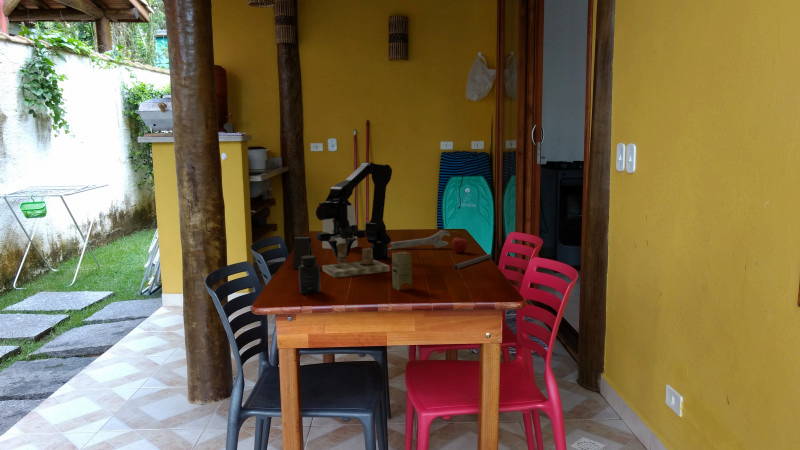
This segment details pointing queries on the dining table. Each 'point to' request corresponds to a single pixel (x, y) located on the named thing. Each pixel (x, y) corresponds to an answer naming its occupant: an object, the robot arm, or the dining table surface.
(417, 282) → the dining table surface
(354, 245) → the milk
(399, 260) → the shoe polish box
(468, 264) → the metal rod
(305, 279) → the supplement bottle
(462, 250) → the apple
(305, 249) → the phone stand
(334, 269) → the birch board
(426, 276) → the dining table surface
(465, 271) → the dining table surface
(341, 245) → the oak peg
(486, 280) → the dining table surface
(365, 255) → the seated peg
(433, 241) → the wrench
